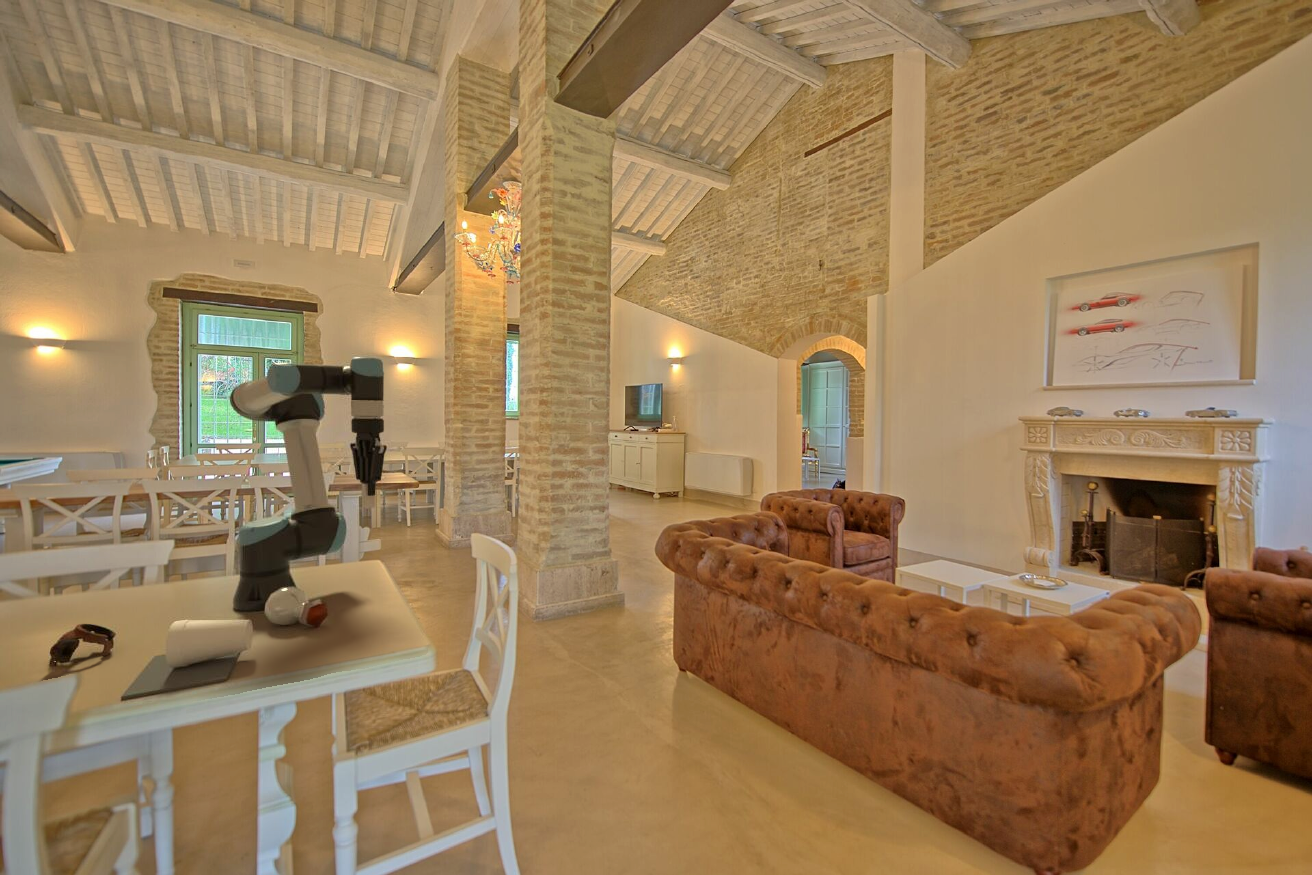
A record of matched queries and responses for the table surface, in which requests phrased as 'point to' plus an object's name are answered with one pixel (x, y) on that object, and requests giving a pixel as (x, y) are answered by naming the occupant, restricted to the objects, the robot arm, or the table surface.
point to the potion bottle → (294, 608)
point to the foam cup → (206, 640)
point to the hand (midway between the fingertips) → (368, 507)
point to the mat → (179, 675)
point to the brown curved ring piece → (70, 641)
